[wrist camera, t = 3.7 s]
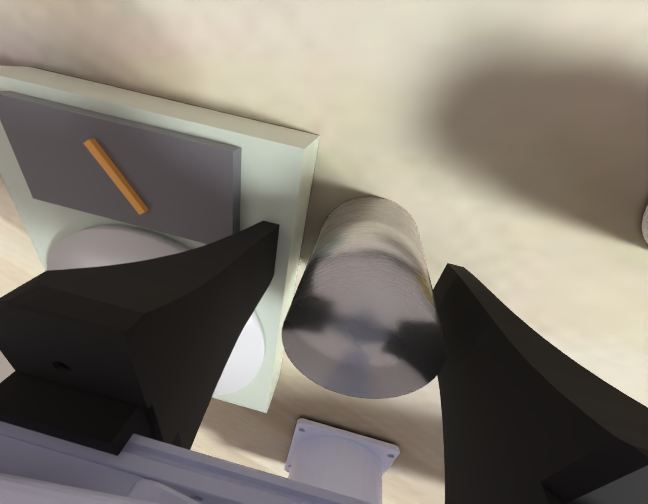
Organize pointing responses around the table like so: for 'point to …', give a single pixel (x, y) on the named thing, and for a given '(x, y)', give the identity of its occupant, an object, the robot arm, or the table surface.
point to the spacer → (366, 305)
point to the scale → (156, 192)
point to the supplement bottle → (645, 224)
